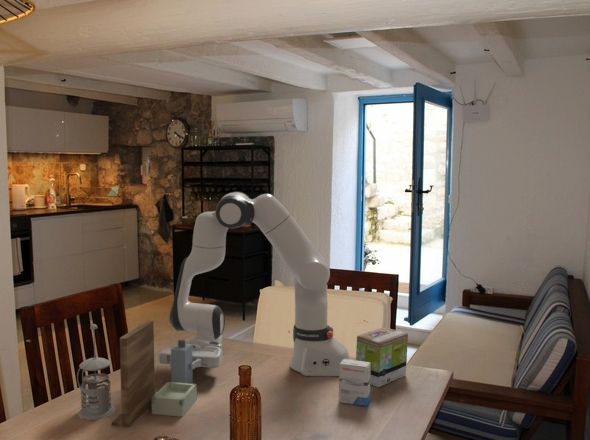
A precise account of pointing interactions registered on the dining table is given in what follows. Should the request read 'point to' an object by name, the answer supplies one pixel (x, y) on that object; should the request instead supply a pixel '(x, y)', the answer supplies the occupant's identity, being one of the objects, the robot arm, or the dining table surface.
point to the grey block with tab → (181, 363)
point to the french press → (95, 389)
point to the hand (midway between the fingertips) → (181, 366)
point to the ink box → (354, 382)
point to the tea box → (383, 354)
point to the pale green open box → (174, 399)
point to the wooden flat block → (136, 373)
